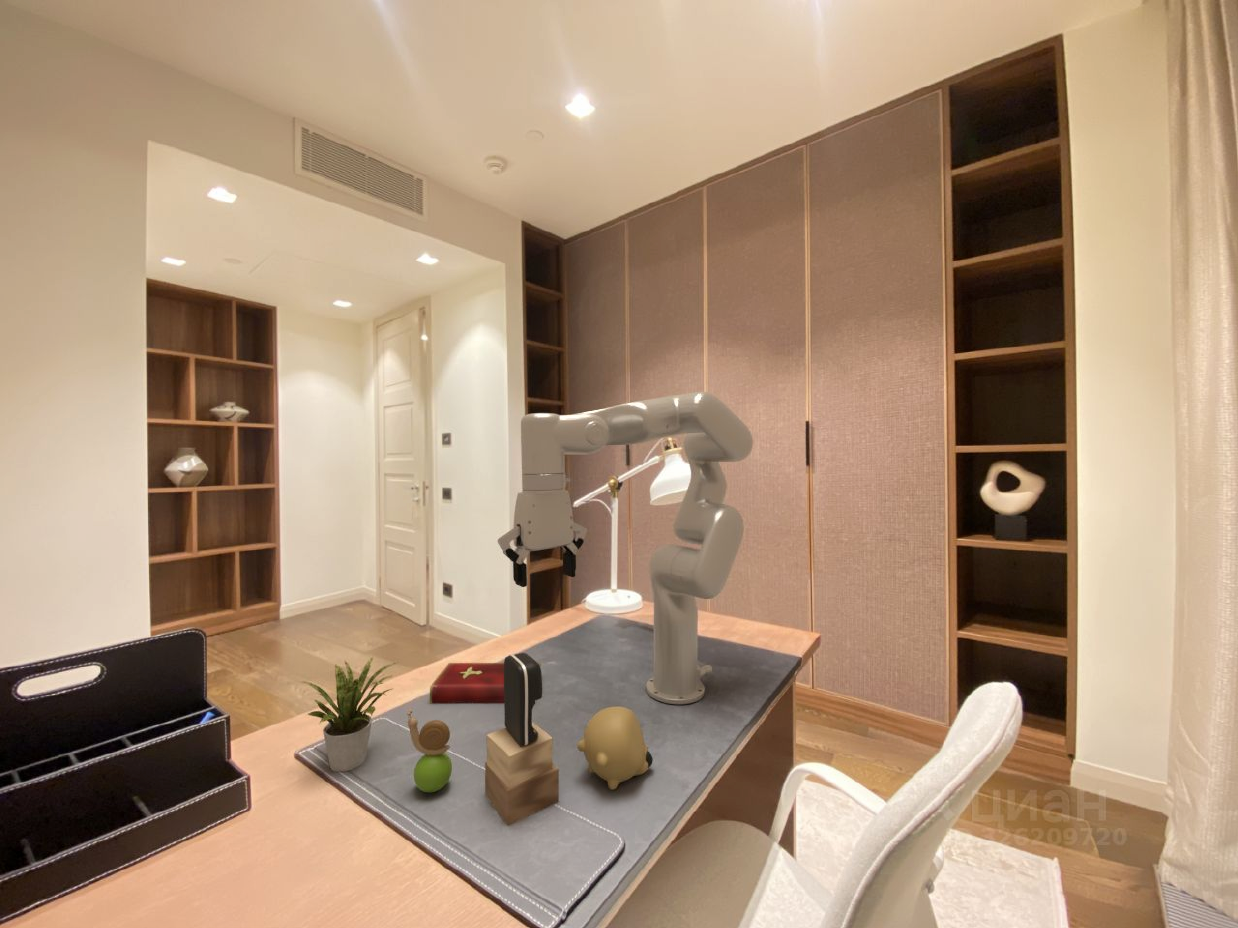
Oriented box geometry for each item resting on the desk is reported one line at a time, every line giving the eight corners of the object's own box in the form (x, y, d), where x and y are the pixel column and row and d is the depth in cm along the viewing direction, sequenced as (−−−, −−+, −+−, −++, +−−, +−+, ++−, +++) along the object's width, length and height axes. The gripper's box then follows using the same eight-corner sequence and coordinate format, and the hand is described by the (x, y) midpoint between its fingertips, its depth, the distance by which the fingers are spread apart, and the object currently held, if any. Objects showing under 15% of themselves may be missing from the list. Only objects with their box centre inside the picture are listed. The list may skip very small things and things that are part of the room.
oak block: (528, 746, 78) (528, 718, 78) (552, 768, 72) (552, 737, 72) (486, 764, 73) (486, 734, 73) (509, 788, 68) (509, 756, 68)
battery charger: (545, 740, 71) (545, 662, 71) (521, 749, 69) (520, 669, 69) (526, 718, 77) (526, 646, 77) (503, 726, 75) (502, 652, 75)
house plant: (421, 746, 86) (421, 653, 86) (354, 798, 73) (355, 688, 73) (358, 731, 90) (358, 643, 90) (285, 777, 77) (285, 673, 77)
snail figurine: (413, 778, 77) (413, 702, 77) (455, 776, 78) (455, 700, 78) (401, 802, 72) (401, 720, 72) (446, 799, 72) (446, 718, 72)
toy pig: (636, 813, 75) (674, 748, 80) (596, 777, 69) (639, 710, 74) (597, 778, 82) (634, 721, 87) (558, 744, 77) (599, 684, 82)
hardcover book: (532, 705, 101) (532, 685, 101) (429, 706, 101) (429, 685, 101) (540, 679, 113) (540, 661, 113) (448, 679, 113) (448, 661, 113)
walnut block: (533, 774, 79) (533, 743, 79) (558, 802, 72) (558, 768, 72) (485, 795, 74) (485, 761, 74) (507, 827, 67) (507, 790, 67)
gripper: (573, 480, 95) (575, 568, 95) (488, 485, 84) (490, 584, 85) (596, 482, 89) (598, 576, 89) (507, 487, 78) (510, 594, 79)
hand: (545, 580), depth 87 cm, fingers open, 9 cm apart
